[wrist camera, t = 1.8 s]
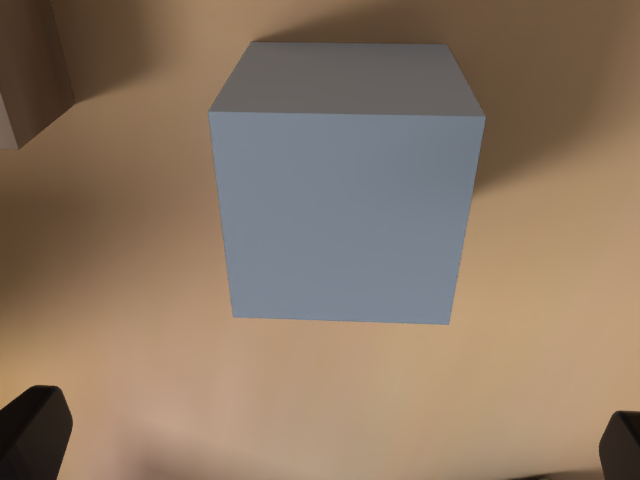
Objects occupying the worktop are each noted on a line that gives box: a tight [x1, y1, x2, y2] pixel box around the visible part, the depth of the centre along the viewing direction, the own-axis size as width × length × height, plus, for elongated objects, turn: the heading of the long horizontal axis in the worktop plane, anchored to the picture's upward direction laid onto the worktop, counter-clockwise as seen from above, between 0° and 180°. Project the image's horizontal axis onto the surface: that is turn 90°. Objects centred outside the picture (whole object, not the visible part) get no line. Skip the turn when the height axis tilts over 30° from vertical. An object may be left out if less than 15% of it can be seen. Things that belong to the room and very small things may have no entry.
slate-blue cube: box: [208, 42, 486, 325], centre depth 16 cm, size 6×6×6 cm
